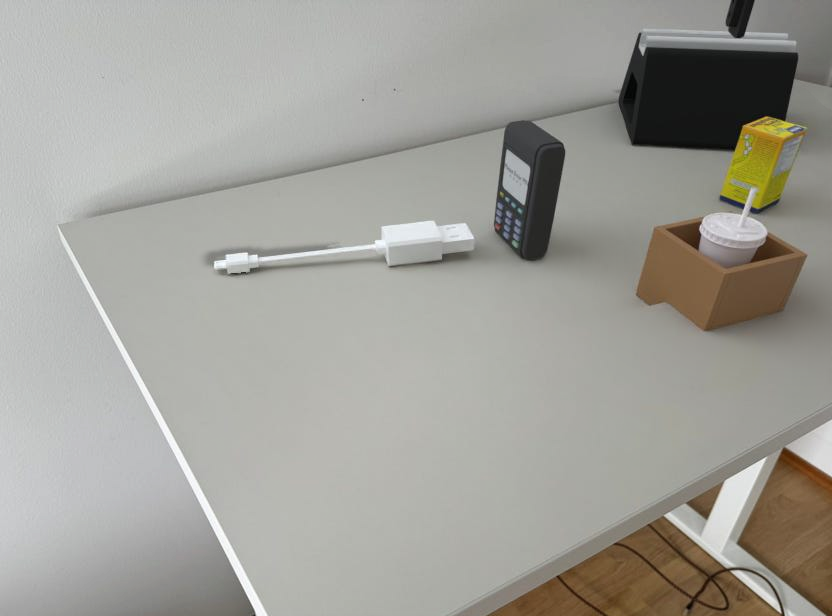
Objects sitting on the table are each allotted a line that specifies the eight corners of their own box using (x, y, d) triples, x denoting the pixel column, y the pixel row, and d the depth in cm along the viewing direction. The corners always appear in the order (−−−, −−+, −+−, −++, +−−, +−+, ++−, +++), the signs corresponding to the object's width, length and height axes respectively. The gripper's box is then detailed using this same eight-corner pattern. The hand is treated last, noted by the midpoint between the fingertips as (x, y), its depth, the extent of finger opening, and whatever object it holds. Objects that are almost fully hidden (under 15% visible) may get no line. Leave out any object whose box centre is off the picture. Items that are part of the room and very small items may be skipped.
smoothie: (721, 326, 76) (767, 207, 68) (666, 302, 80) (702, 186, 71) (748, 303, 80) (794, 187, 71) (693, 281, 83) (731, 168, 75)
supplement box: (739, 188, 105) (765, 115, 98) (779, 203, 101) (809, 127, 94) (716, 199, 102) (741, 124, 95) (756, 215, 98) (785, 137, 91)
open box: (708, 277, 86) (731, 210, 80) (777, 324, 78) (808, 254, 72) (635, 294, 83) (654, 226, 77) (698, 345, 75) (725, 274, 70)
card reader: (487, 230, 95) (500, 120, 86) (514, 226, 96) (530, 116, 87) (520, 263, 89) (538, 147, 79) (549, 258, 90) (570, 143, 80)
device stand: (777, 154, 115) (813, 57, 105) (632, 146, 118) (655, 51, 109) (743, 107, 132) (772, 20, 122) (618, 101, 135) (636, 16, 126)
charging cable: (217, 267, 91) (212, 244, 89) (463, 238, 93) (465, 215, 91) (216, 288, 87) (211, 264, 85) (474, 257, 89) (475, 234, 87)
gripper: (763, -183, 57) (702, 44, 67) (1004, -189, 54) (902, 47, 65) (738, -185, 62) (686, 25, 73) (955, -191, 60) (868, 27, 71)
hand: (787, 35), depth 69 cm, fingers open, 9 cm apart
